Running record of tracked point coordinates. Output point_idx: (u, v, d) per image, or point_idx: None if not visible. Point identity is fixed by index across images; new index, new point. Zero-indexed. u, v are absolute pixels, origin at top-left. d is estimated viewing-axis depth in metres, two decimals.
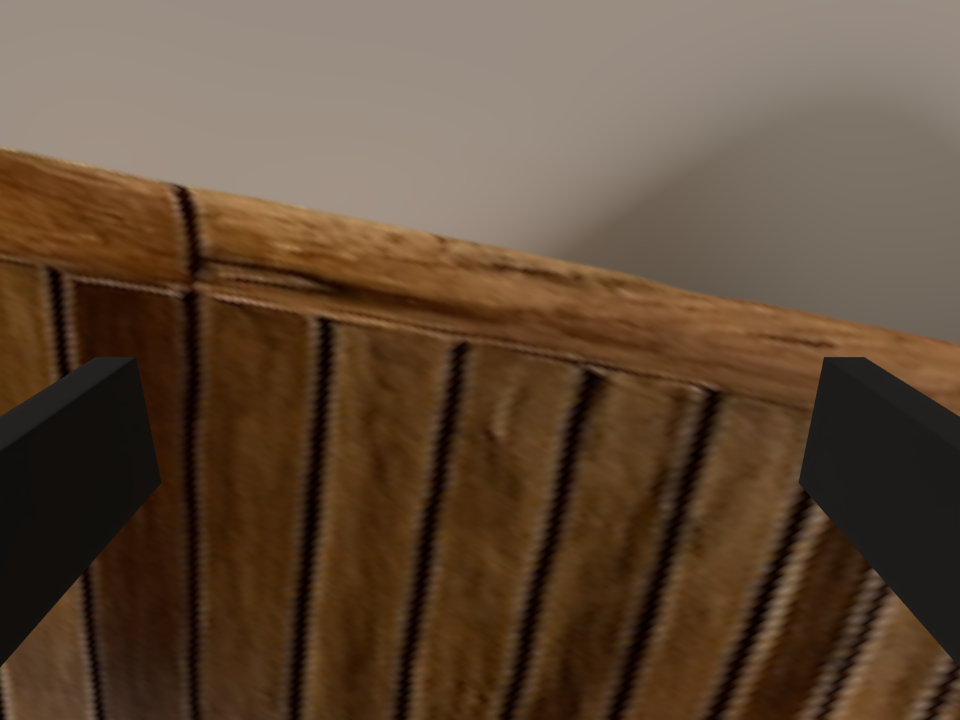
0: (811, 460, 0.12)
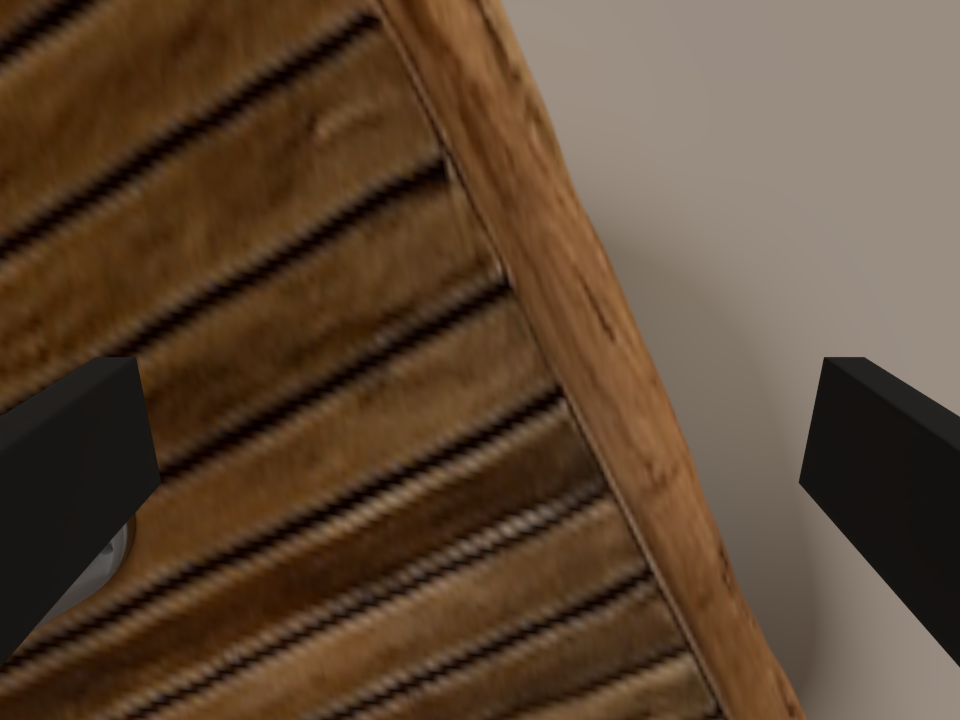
0: (811, 459, 0.12)
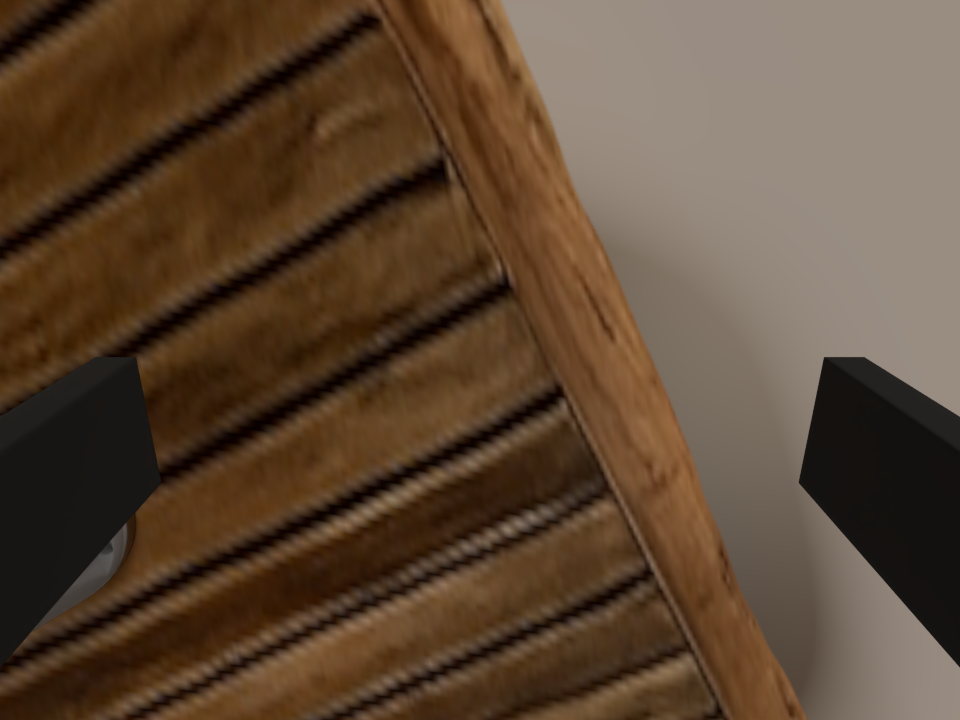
0: (811, 459, 0.12)
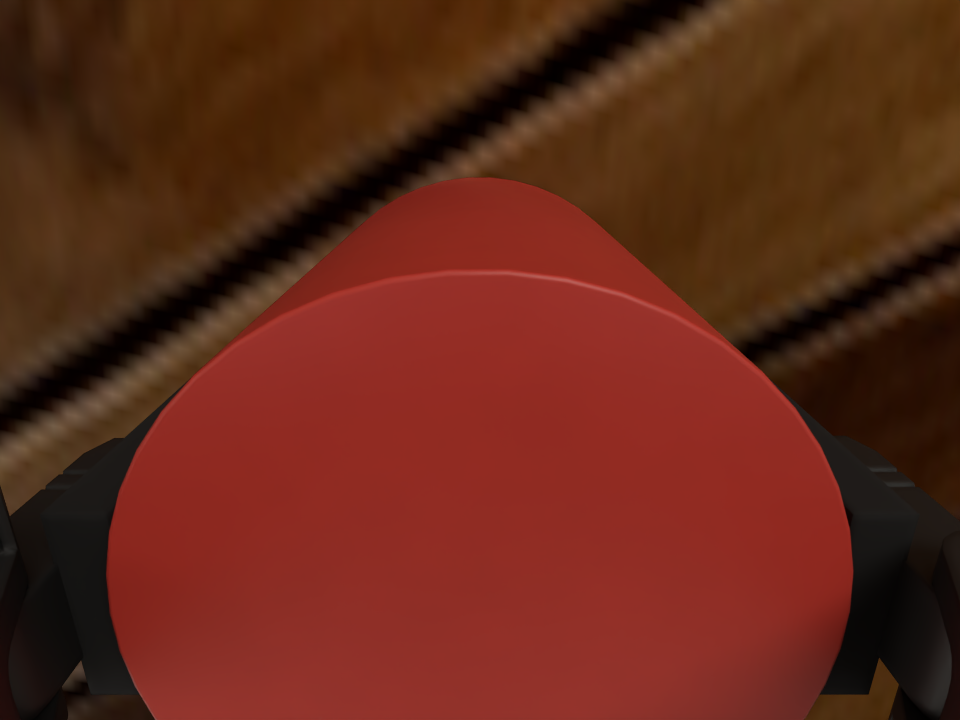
0: None
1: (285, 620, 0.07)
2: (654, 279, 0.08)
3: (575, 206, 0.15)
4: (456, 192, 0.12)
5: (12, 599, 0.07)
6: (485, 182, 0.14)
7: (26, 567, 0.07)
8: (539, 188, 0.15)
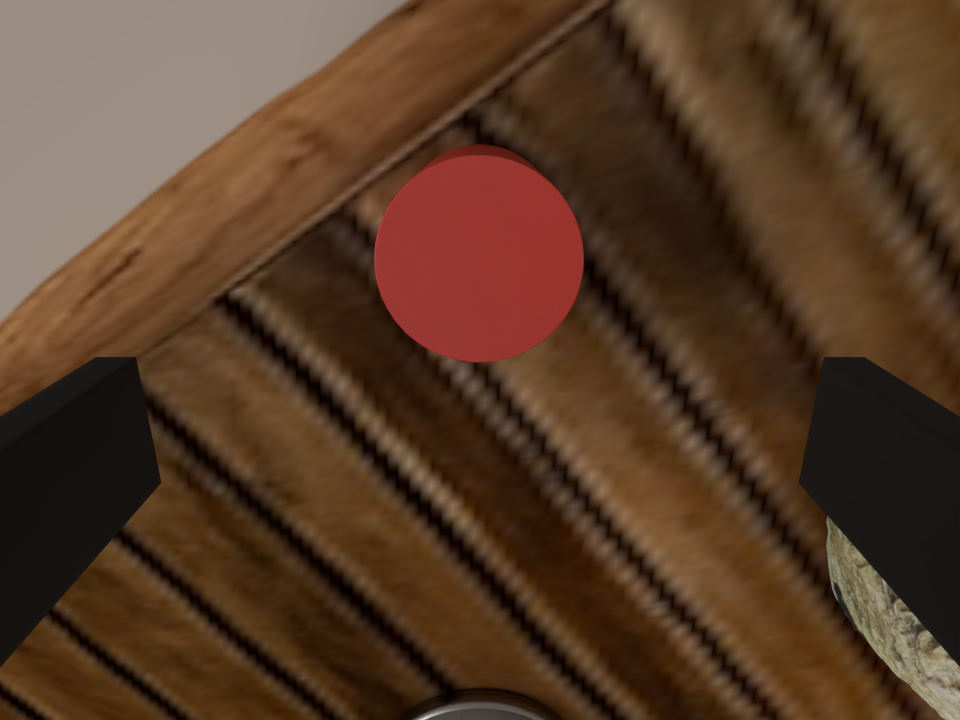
0: (811, 459, 0.12)
1: (424, 260, 0.26)
2: (533, 168, 0.27)
3: None
4: (470, 147, 0.31)
5: None
6: (481, 145, 0.32)
7: None
8: (506, 149, 0.33)
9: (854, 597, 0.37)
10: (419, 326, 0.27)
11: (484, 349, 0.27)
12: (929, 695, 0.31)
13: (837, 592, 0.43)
